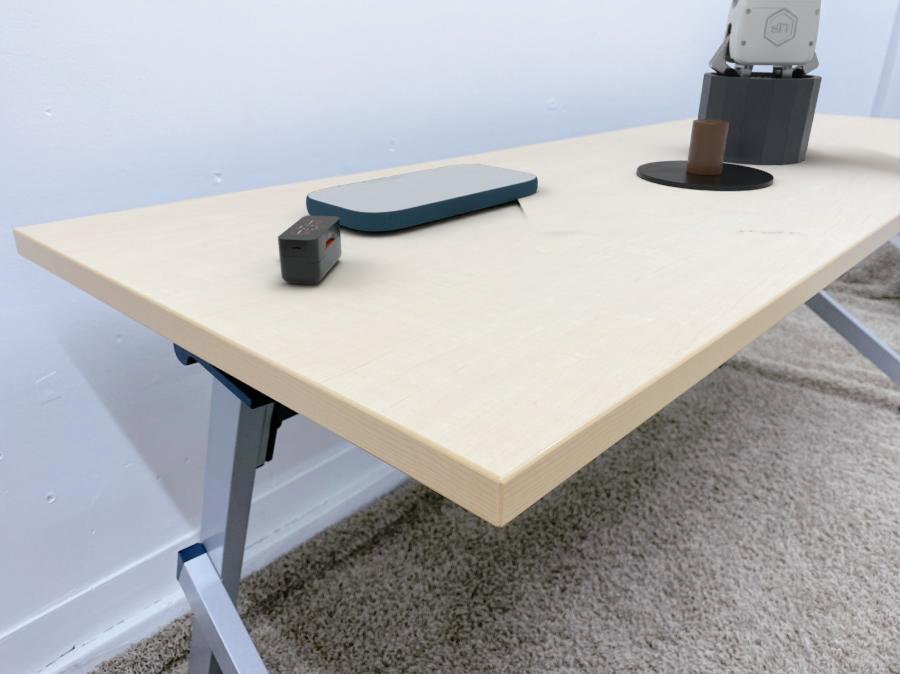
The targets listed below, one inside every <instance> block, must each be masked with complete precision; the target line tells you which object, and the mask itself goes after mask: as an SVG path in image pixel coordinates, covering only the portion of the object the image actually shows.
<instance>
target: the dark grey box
mask: <svg viewBox="0 0 900 674" xmlns="http://www.w3.org/2000/svg"><path fill="white" fill-rule="evenodd" d="M341 237H342V235H341V225H340V218H339V217H335V216H311V215H305V216H302V217H301V218H299V219H298V220H297V221H296V222H295V223H293V224H292V225H290V226H289V227H288V228H287V229H286V230H285V231H283V232H282V233H281V234H279V235H278V236H277V245H278V255H279V266H280V267H279V268H280V276H281V278H282V280H283V282H285V283H288V284H297V285H299V284H300V285H316V284H318V283H319V282H321V280H322V279H323V278H324V277H325V276H326V274H327V273H328V272H329V271H330V270H331V269H332V268H333V267H334V265H335V264H336V263H337V262H339V260H340V259H341V257H342V254H343V253H342V238H341Z"/></svg>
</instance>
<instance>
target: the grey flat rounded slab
mask: <svg viewBox="0 0 900 674" xmlns="http://www.w3.org/2000/svg"><path fill="white" fill-rule="evenodd" d="M538 186H539V179H538V177H537V175H535V174H534V173H530V172H525V171H522V170H521V171H520V170H515V169H511V168H504V167H498V166H495V165H494V166H493V165H486V164H480V163H479V164H478V163H465V164H464V163H463V164H462V163H461V164H452V165H446V166H439V167H435V168H434V167H433V168H429V169H424V170H418V171H412V172H407V173H402V174H396V175H391V176H385V177H380V178H375V179H369V180H364V181H358V182H353V183H352V182H351V183H347V184H342V185H335V186H331V187H330V186H329V187H326V188H321V189H317V190H313V191H311V192H309V193H308V194H307V195H306V197H305V206H306V211H307V213H308V215H309V216H335V217H339V218H340V226H342V227H345V228H348V229H353V230H356V231H363V232H386V231H394V230H400V229H405V228H409V227H413V226H417V225H422V224H426V223H429V222H434V221H437V220H442V219H445V218H446V219H447V218H450V217H453V216H458V215H462V214H465V213H470V212H473V211H478V210H482V209H484V208H485V209H486V208H490V207H494V206H497V205H501V204H506V203H510V202H513V201H517V200H519V199H523V198H525V197H526V198H527V197H530V196H532V195H534V194H536V193H537V191H538Z"/></svg>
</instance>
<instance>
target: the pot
mask: <svg viewBox="0 0 900 674" xmlns="http://www.w3.org/2000/svg"><path fill="white" fill-rule="evenodd" d="M772 73H773V71H752V73H751V76H750V77H755V78H744V77H728V76H722V75H720V74H719V73H717V72H716V71H710V72H705V73H703V79H702V86H701V93H700V98H699V107H698V113H697V120H699V119H713V120H723V121H728V122H730V124H729V130H728V136H727V143H726V149H725V155H724V161H723V163H729V164H736V165H751V166H788V165H797V164H800V163H802V162H806V161H805V160H806V157H807V151H808V146H809V141H810V138H811V133H812V127H813V123H814V117H815V114H816V107H817V103H818V98H819V94H820V88H821V84H822V79H823V78H822V76H820V75H814V74H809V73H807V74H805V75H803V76H802V77H801V78H798V79H772ZM757 77H761V78H757ZM764 77H768V78H764Z"/></svg>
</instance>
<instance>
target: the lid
mask: <svg viewBox="0 0 900 674" xmlns="http://www.w3.org/2000/svg"><path fill="white" fill-rule="evenodd" d="M729 124H730V122H728V121H723V120H713V119H699V120H698V119H694V120H692V126H691V133H690V141H689V147H688V148H689V149H688V155H687V160H661V161H660V160H659V161H652V162H646V163H643V164H641V165H639V166H638V167H637V168H636V176H638V177H639V178H641V179H643V180H646V181H649V182H651V183H656V184H659V185H664V186H669V187H675V188H682V189H691V190H703V191H728V192H729V191H749V190H757V189H758V190H759V189H763V188H766V187H769V186H771V185H772V184H773V183H774V178H775V177H774V176H773V174H772V173H770V172H768V171H766V170H763V169H759V168H755V167H752V166H747V165H743V164H735V163H728V162H723V161H724V155H725V149H726V143H727V136H728V130H729Z"/></svg>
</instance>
